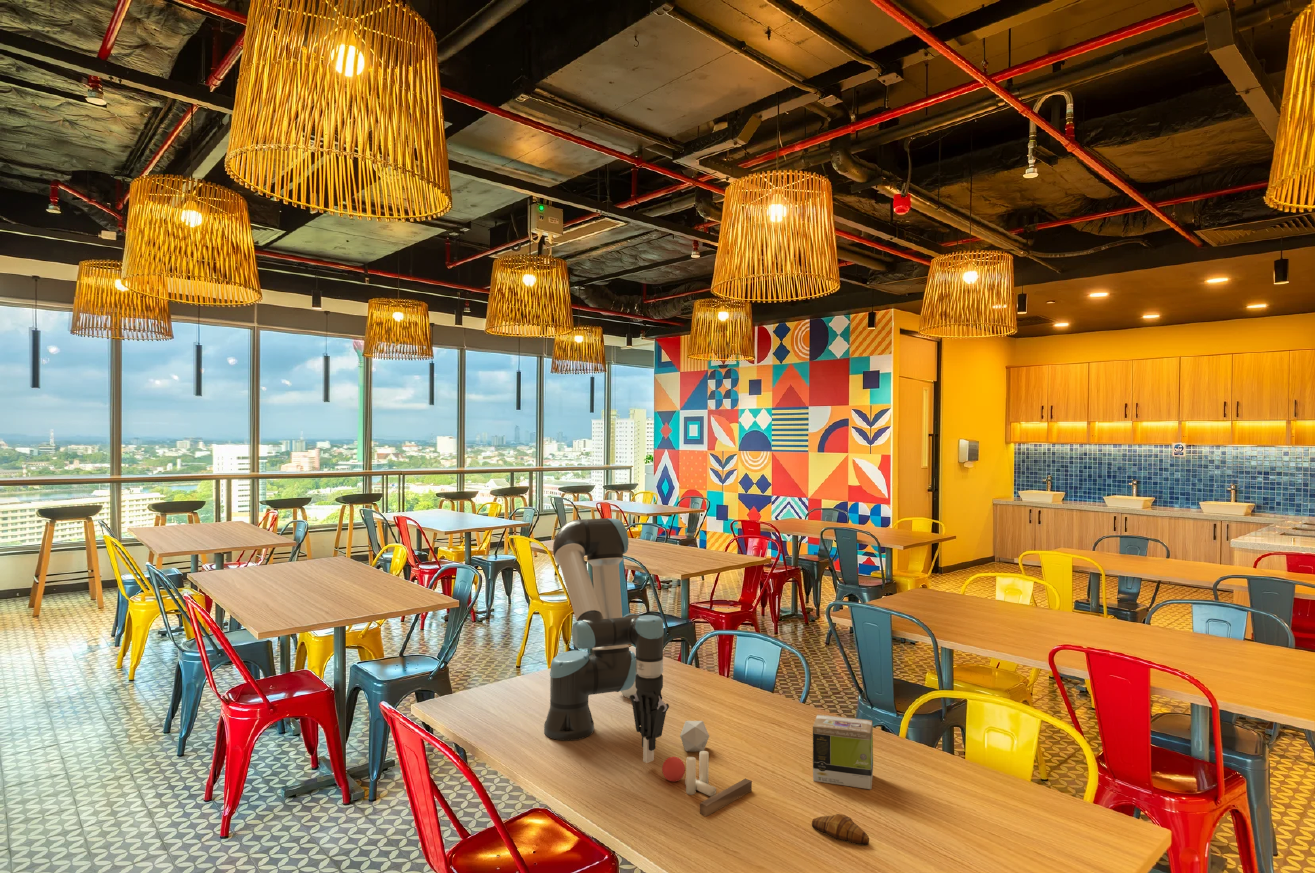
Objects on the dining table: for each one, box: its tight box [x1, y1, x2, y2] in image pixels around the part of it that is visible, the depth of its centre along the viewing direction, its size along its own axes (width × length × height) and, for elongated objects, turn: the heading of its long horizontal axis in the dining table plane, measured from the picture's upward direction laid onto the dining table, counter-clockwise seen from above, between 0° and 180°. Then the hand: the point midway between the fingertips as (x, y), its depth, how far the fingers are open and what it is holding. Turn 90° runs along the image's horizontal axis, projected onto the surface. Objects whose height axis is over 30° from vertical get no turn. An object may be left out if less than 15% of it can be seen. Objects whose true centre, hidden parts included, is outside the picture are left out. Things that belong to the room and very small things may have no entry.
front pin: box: [684, 778, 717, 797], centre depth 187 cm, size 2×2×8 cm
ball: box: [661, 756, 686, 782], centre depth 192 cm, size 6×6×6 cm
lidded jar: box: [620, 679, 637, 699], centre depth 257 cm, size 11×11×9 cm
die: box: [679, 720, 710, 752], centre depth 212 cm, size 8×9×10 cm
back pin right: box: [685, 756, 697, 795], centre depth 186 cm, size 2×2×8 cm
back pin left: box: [698, 750, 710, 784], centre depth 190 cm, size 2×2×8 cm
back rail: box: [699, 778, 753, 817], centre depth 181 cm, size 2×18×2 cm, turn 136°
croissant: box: [811, 813, 870, 846], centre depth 166 cm, size 14×7×5 cm, turn 53°
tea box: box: [812, 713, 874, 790], centre depth 195 cm, size 15×10×15 cm, turn 71°
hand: (648, 760), depth 200 cm, fingers closed
